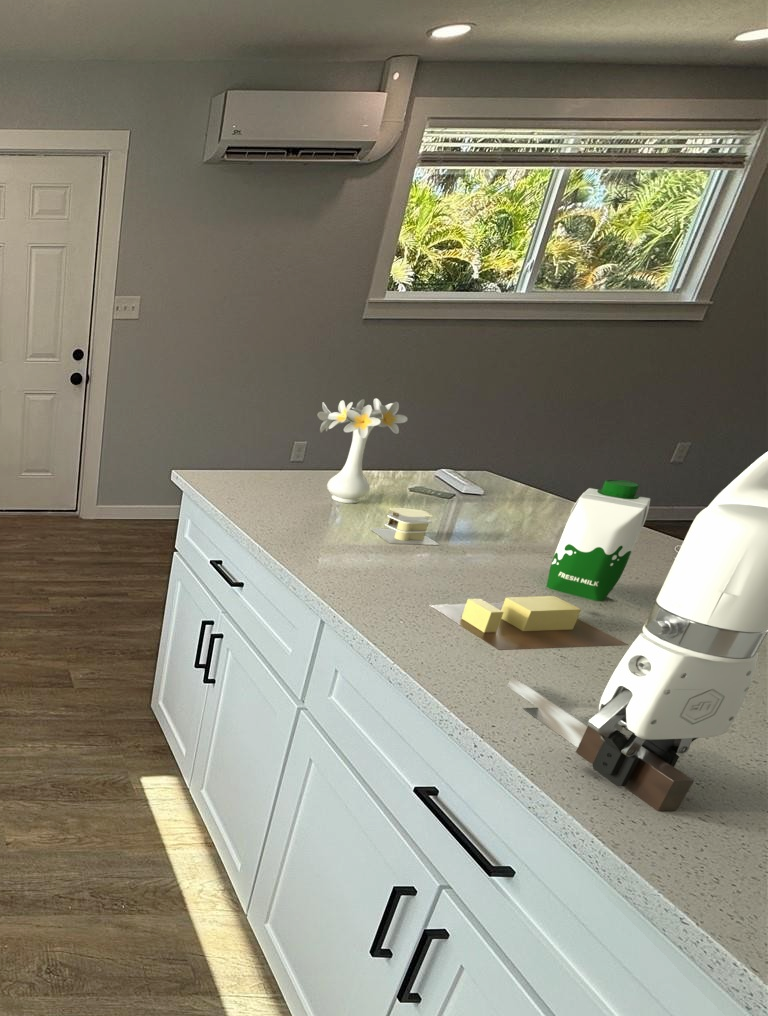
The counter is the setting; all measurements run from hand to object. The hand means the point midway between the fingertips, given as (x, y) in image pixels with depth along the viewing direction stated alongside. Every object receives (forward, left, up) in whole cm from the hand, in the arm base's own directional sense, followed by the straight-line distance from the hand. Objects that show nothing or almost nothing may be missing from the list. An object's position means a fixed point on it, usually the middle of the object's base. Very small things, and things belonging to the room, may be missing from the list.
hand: (627, 774), depth 69 cm
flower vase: (-28, -96, -1) cm, 100 cm away
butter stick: (-18, -31, +1) cm, 36 cm away
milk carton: (-36, -42, -1) cm, 55 cm away
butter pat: (-9, -31, +1) cm, 32 cm away
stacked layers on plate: (-26, -71, -1) cm, 76 cm away
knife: (0, -6, -1) cm, 6 cm away
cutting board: (-16, -31, -1) cm, 35 cm away
